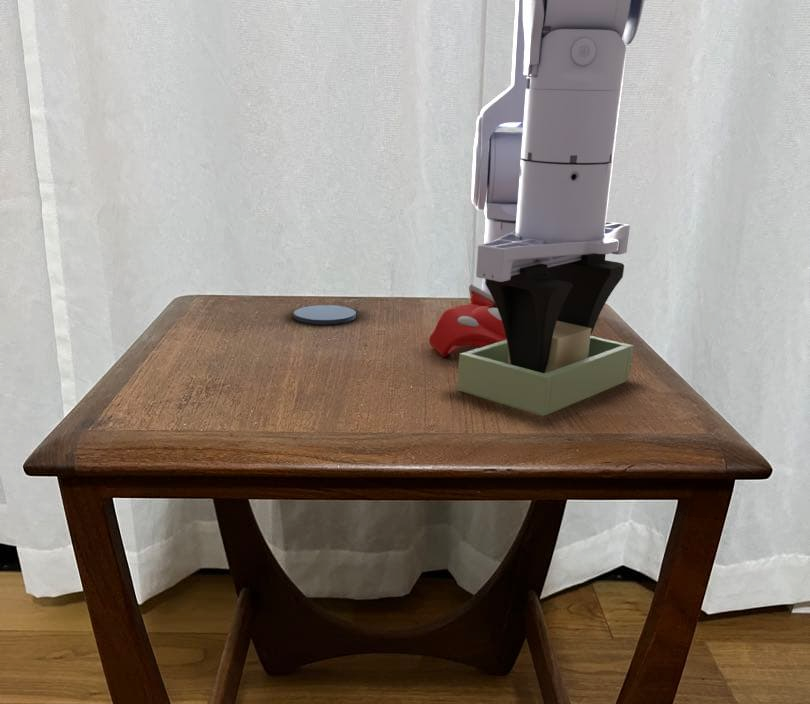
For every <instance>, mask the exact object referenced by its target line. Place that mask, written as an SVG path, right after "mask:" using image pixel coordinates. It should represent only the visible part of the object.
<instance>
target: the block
mask: <svg viewBox="0 0 810 704" xmlns="http://www.w3.org/2000/svg"><path fill="white" fill-rule="evenodd" d="M590 336H592V334H591V328H588V327H583V326H579V325H574V324H570V323H565V322H561V321H557V322H556V325H555V329H554V332H553V337H552V342H551V348H550V353H549V359H548V363H547V367H546V370H545V373H548V372H551V371H553V370H556V369H559V368H562V367H564V366H567V365H570V364H573V363H576V362H578V361H581V360H584V359H587V358H588V353H589V345H590ZM507 364H511V361H510V355H509V350H508V362H507Z"/></svg>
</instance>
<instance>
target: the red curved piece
mask: <svg viewBox="0 0 810 704" xmlns="http://www.w3.org/2000/svg"><path fill="white" fill-rule="evenodd" d="M468 291H469V297H470V303H469V304H461V305H456V306H453V307H449V308H448V309H446V310H444V312H443V313H442V314H441V316H440V318H439V319H438V320H437V324H436V326H435V328H434V330H433V331H432V333H431V334H430V336H429V340H428V343H429V345H430V346H431V347H432V348H433V349H434V350H435V351H436V352H437V353H439V355H441V356H442V357H444V358H445V357H448V356H450V355H451V354H452V353H453V352H455V351H456V350H458V349H460V348H461V347H464V346H465V347H466V346H473V347H478V348H481V347H484V346H487V345H491V344H494V343H497V342H501V341H504V340H507V339H506V335H505V330H504V326H503V323H502V319H501V316H500V314H499V311H498V308H497V306H496V304H495V301H494V299H493V297H492V296H491V295H490V294H488V293H486V292H484V291H482V288H481V289H480V288H479V287H477V286H475V285H474V284H469V286H468Z"/></svg>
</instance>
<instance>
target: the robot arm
mask: <svg viewBox="0 0 810 704" xmlns="http://www.w3.org/2000/svg"><path fill="white" fill-rule="evenodd" d="M645 2H646V1H645V0H515V6H514V7H515V8H514V27H513V44H512V59H511V61H512V62H511V77H510V81H511V82H510V86H508V88H506V89H505V90H504V91H503V92H501V93H500V94H498V95H497V96H496V97H495V98H494V99H492V100H491V101H490V102H488V103H487V104H486V105H485V106H484V107H483V108H482V109H481V110H480V114H479V116H477V119H476V126H475V136H474V142H473V150H472V152H473V153H472V154H473V155H472V170H471V204H472V205H473V206H474V207H475V209H476V210H477V211H478V212H479V211H480V212H482V211H483V213H484V216H485V223H484V225H485V226H484V242H483V243H482V244H481V243H480V244H477V252H476V253H477V255H476V256H477V257H476V269H475V270H476V272H475V276H476V278H479V279H481V290H482V291H484V292H486V293H488V294H490V295H491V296H492V297H493V299H494V301H495V304H496V306H497V308H498V311H499V314H500V316H501V319H502V323H503V326H504V330H505V335H506V339H507V344H508V350H509V355H510V361H511V365H514V366H518V367H522V368H526V369H529V370H533V371H537V372H541V373H544V374H545V370H546V367H547V363H548V359H549V353H550V348H551V342H552V337H553V332H554V329H555V325H556V322H557V321H561V322H565V323H570V324H574V325H579V326H583V327H588V328H591V336H592V333H593V331H594V328H595V326H596V324H597V322H598V318H599V316H600V314H601V312H602V310H603V308H604V306H605V304H606V303H607V301H608V299H609V298H610V296H611V294H612V293H613V292H614V290H615V288H616V287H617V285H618V284H619V283H620V282H621V280H622V279H623V276H624V272H625V271H624V270H625V264H624V263H622V262H619V261H613V260H606V255H610V254H611V255H623V254H627V252H628V245H629V238H630V237H629V236H630V230H631V224H627V223H619V222H613V221H607V215H608V208H609V207H608V206H609V200H610V199H609V197H610V191H611V189H610V188H611V182H612V175H613V165H614V162H613V161H614V157H615V148H616V140H617V131H618V125H619V124H618V122H619V114H620V107H621V97H622V89H623V81H624V73H625V66H626V57H627V46H630V45H632V44H633V42H634V40H635V38H636V35H637V33H638V30H639V29H638V28H639V26H640V22H641V18H642V14H643V10H644V5H645ZM626 45H627V46H626ZM500 129H522V132H521V131H520V132H519V131H498V130H500ZM591 336H590V337H591Z"/></svg>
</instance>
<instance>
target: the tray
mask: <svg viewBox="0 0 810 704" xmlns="http://www.w3.org/2000/svg"><path fill="white" fill-rule="evenodd" d="M633 353H634V345H633V344H629V343H624V342H619V341H615V340H611V339H607V338H602V337H599V336H598V337H597V336H593V335H591V337H590V345H589V353H588V358H587V359H584V360H581V361H578V362H576V363H573V364H570V365H567V366H564V367H562V368H559V369H556V370H553V371H551V372H548V373H545V374H544V373H541V372H537V371H533V370H529V369H526V368H522V367H518V366H514V365H511V364H507V362H508V344H507V340H504V341H501V342H497V343H494V344H491V345H487V346H484V347H478V348H475V349H471V350H468V351H465V352H460V353H459V355H458V356H459V357H458V376H457V377H458V378H457V391H460V392H462V393H466V394H469V395H473V396H476V397H480V398H482V399H486V400H489V401H492V402H496V403H500V404H502V405H506V406H510V407H513V408H516V409H519V410H523V411H526V412H529V413H532V414H535V415H539V416H542V417H544V416H547V415H549V414H552V413H554V412H556V411H559V410H561V409H563V408H566V407H569V406H571V405H573V404H575V403H578V402H581V401H583V400H585V399H588V398H590V397H592V396H594V395H597V394H599V393H602V392H604V391H607V390H610V389H611V388H614V387H617V386H619V385H622V384H623V383H626V382H628V381H630V380H629V379H630V375H631V368H632V359H633Z"/></svg>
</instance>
